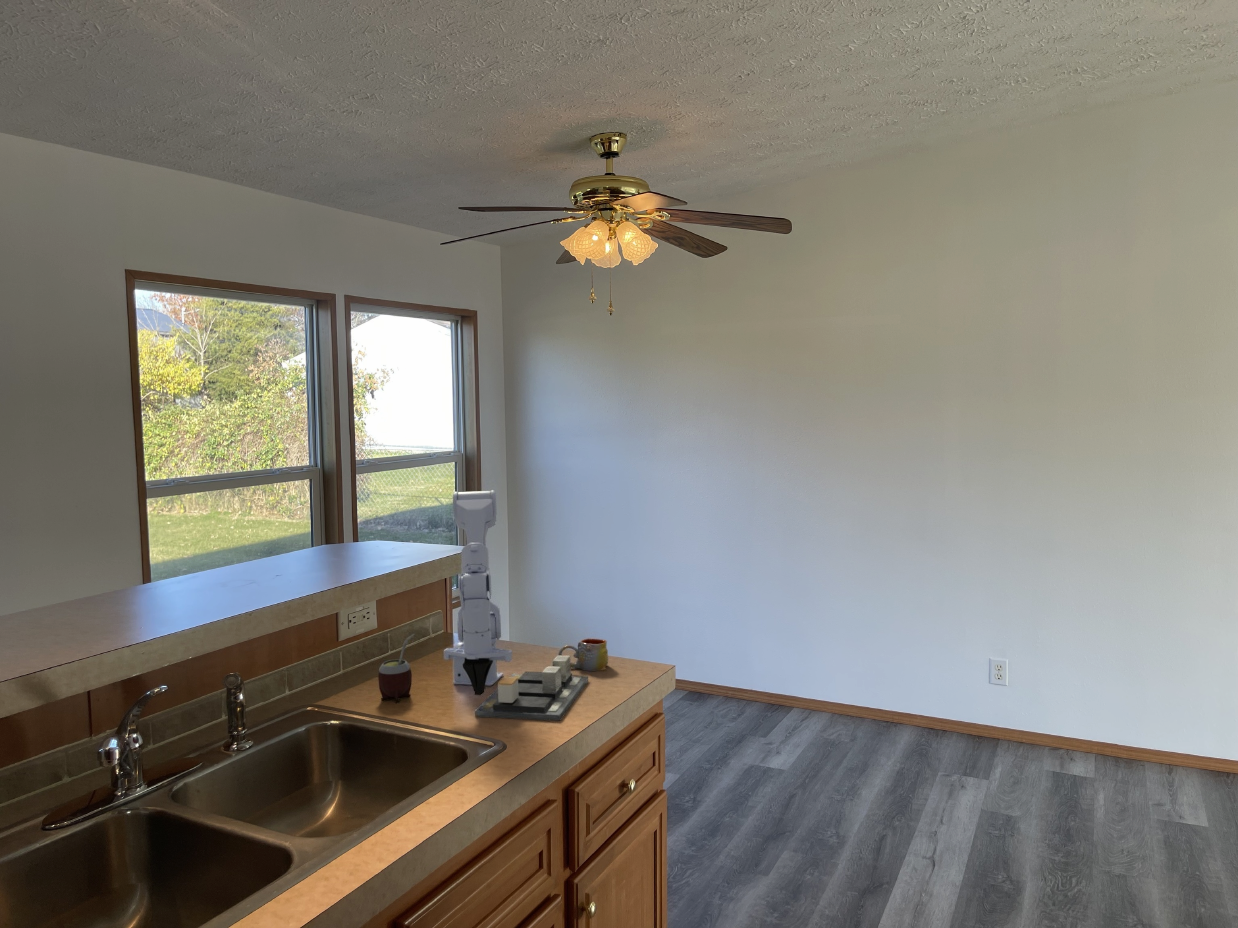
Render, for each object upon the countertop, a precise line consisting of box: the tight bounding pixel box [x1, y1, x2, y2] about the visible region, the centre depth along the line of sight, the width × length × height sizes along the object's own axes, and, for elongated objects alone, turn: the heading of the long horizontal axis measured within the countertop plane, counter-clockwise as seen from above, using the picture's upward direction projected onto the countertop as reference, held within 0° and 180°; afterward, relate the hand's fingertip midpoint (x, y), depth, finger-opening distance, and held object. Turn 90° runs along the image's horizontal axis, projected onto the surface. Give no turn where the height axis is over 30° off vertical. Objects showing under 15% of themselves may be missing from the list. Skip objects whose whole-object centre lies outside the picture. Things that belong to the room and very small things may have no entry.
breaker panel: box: [474, 654, 589, 722], centre depth 179 cm, size 18×24×6 cm
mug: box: [557, 638, 609, 672], centre depth 200 cm, size 12×7×7 cm, turn 92°
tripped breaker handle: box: [497, 676, 519, 703], centre depth 172 cm, size 3×4×4 cm
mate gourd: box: [377, 632, 416, 704], centre depth 181 cm, size 8×8×15 cm
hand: (479, 693), depth 174 cm, fingers closed
